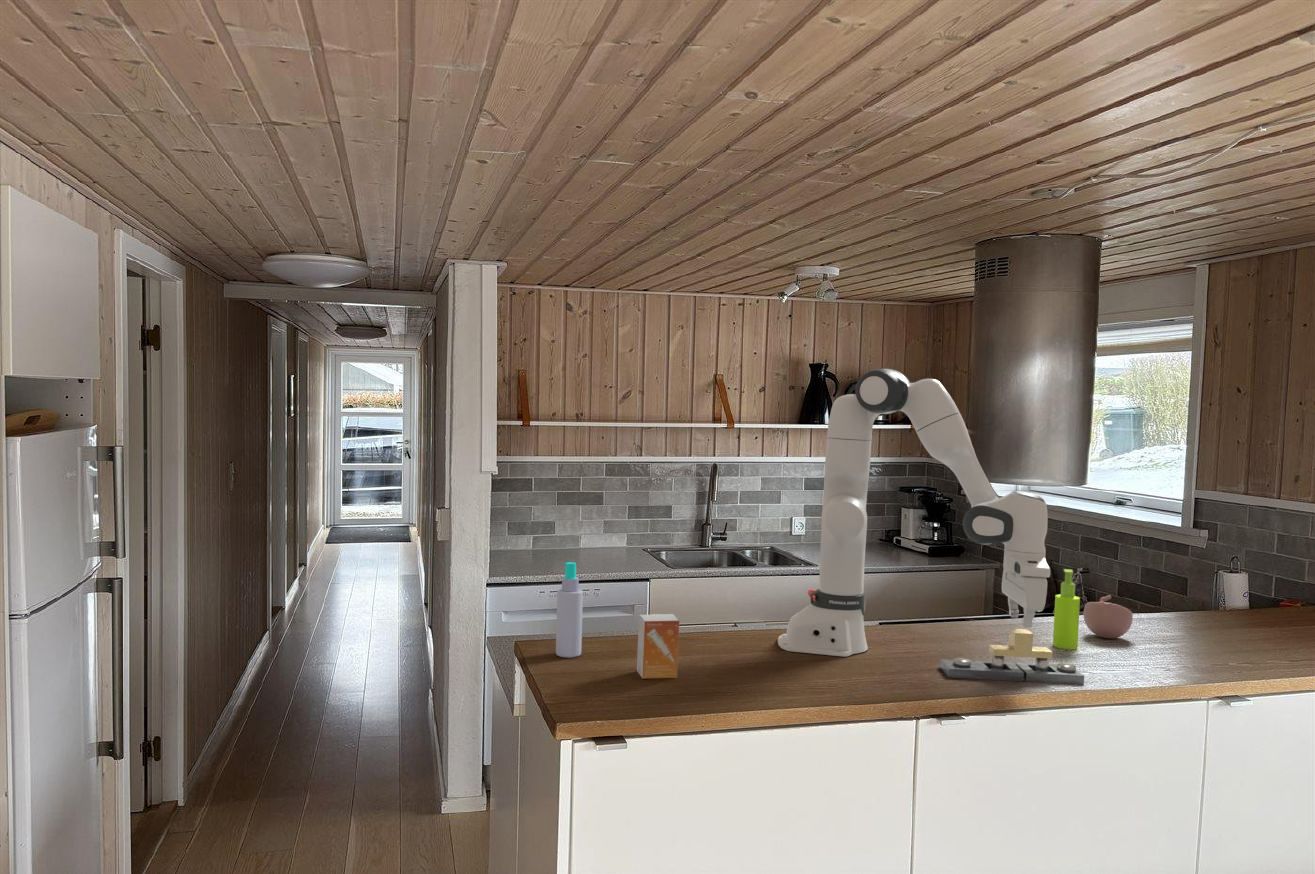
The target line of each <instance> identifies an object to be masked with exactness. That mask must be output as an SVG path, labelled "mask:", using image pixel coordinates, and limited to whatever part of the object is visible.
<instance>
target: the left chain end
mask: <svg viewBox="0 0 1315 874" xmlns="http://www.w3.org/2000/svg"><path fill="white" fill-rule="evenodd" d="M939 663H940V664H939V669H941V670H942V672H943V673H944V674H945V675H946V677H947V678H951V679H952V678H953V679H954V678H955V679H969V680H971V679H972V680H989V681H990V680H991V681H1008V682H1009V681H1010V682H1011V681H1012V682H1024V681H1025V680H1024V672H1023V671H1022V670H1020V669H1019V668H1018V667H1017V666H1016V665H1015V663H1014V662H1013V661H1012V662H1010V661H1009V662H1008V661H1007V662H1006V661H1004V670H998V669H991V660H990V661H989V660H988V661H986V660H971V659H969V658H964V657H963V658H962V657H955V658H953V659H950V658H949V659H947V658H940V662H939Z"/></svg>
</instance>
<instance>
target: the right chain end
mask: <svg viewBox="0 0 1315 874" xmlns="http://www.w3.org/2000/svg"><path fill="white" fill-rule="evenodd" d="M1014 664H1015V665H1016V666H1017V667H1018V668H1019V669H1020V670H1022V671H1023V672H1024V680H1023V681H1025V682H1030V683H1048V684H1049V683H1051V684H1069V685H1070V684H1072V685H1085V675H1084V674H1083V673H1081V672H1080V671H1079V670H1078V669H1077V665H1075V664H1072V663H1067V662H1059V663H1056V664H1049V665H1048V672H1039V671H1035V663H1030V662H1029V663H1028V662H1027V663H1026V662H1015V663H1014Z"/></svg>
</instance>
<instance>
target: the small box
mask: <svg viewBox="0 0 1315 874" xmlns="http://www.w3.org/2000/svg"><path fill="white" fill-rule="evenodd" d="M637 629H638V630H637V633H638V634H637V654H636V659H637V661H636V671H637V673H638V674H639V675H640V677H641V679H644V680H645V679H677V678H678V667H679V666H678V665H679V641H680V619H678V617H676V615H674V613H668V614H667V613H665V614H664V613H652V614H638V628H637Z"/></svg>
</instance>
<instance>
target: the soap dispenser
mask: <svg viewBox="0 0 1315 874" xmlns="http://www.w3.org/2000/svg"><path fill="white" fill-rule="evenodd" d="M1063 573H1064V580H1063V581H1062V582H1061V583H1060V594H1055V596H1054V598H1055V599H1054V614H1053V615H1054V616H1053V635H1052V637H1053V638H1052V645H1053V646H1052V647H1055V648H1058V649H1062V650H1063V649H1064V650H1076V649H1078V647H1079V646H1078V644H1079V642H1078V641H1079V624H1080V623H1079V622H1080V605H1081V604H1080V602H1081V600H1080V599H1081V598H1080V597H1079V596H1076V583H1074V582H1073V575H1074V571H1073V569H1070V568H1069V569H1068V568H1063Z"/></svg>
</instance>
